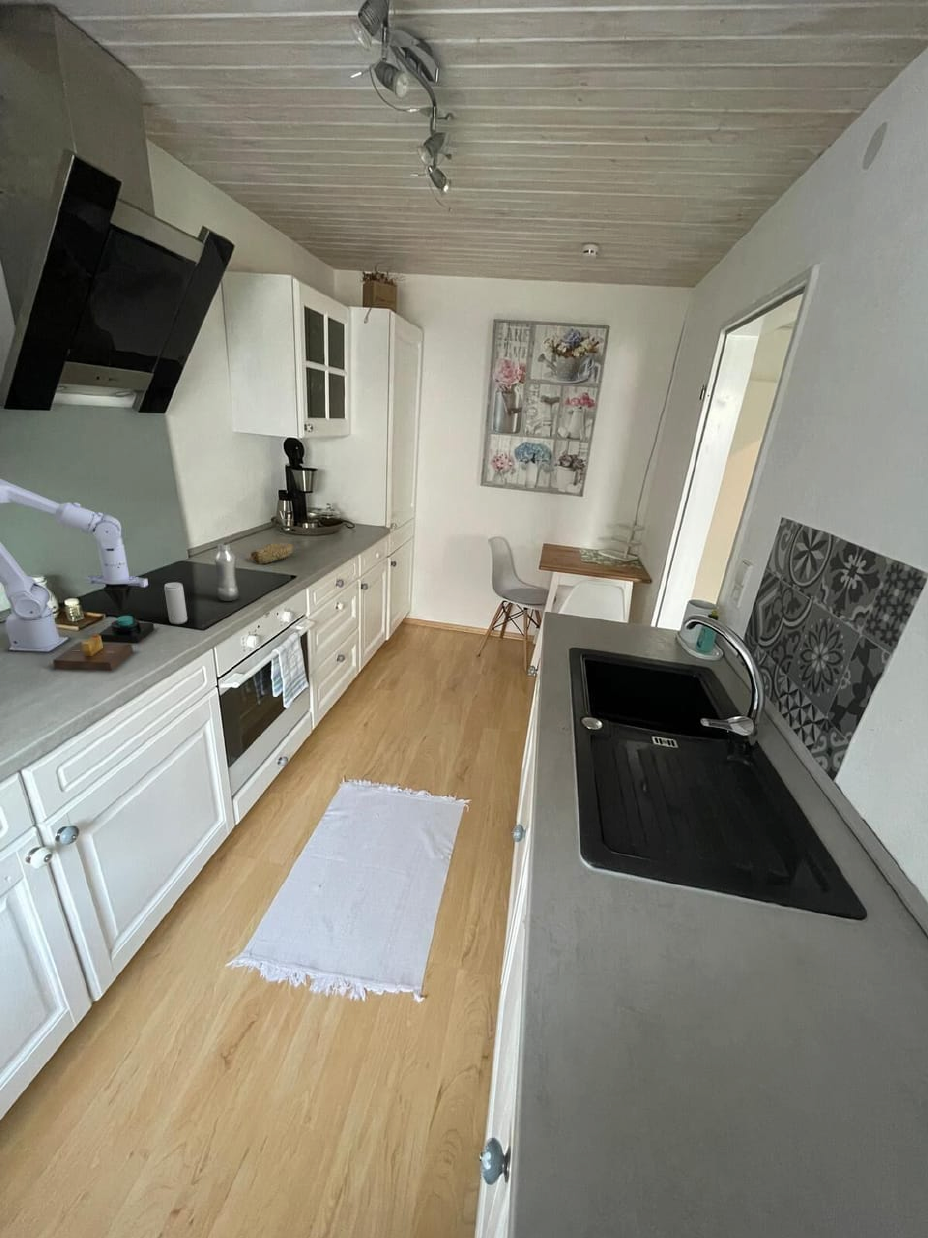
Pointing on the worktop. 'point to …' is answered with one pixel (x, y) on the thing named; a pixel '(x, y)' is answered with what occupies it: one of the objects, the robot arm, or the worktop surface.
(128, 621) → the lock button
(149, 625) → the lock button box
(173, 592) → the beverage can
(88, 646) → the thumbturn
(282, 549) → the tan oblong lump
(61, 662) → the plate
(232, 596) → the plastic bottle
